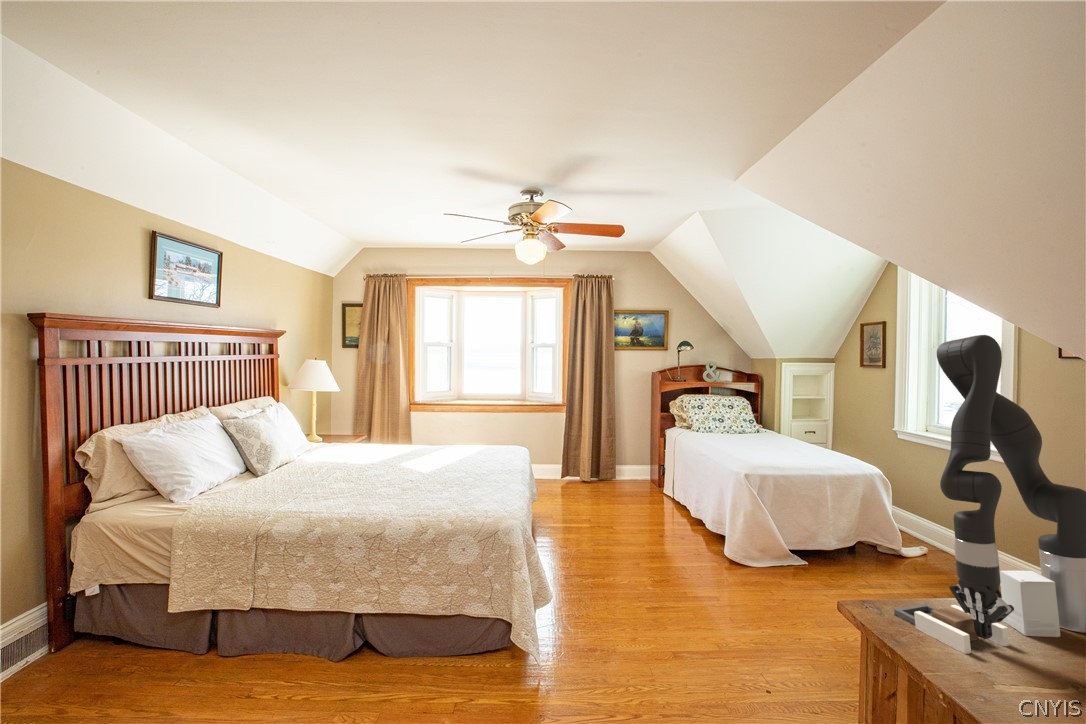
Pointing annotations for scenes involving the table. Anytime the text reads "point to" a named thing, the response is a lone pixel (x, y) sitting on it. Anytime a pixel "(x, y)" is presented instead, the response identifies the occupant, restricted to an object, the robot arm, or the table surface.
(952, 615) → the walnut block
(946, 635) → the white guide rails
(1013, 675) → the table surface
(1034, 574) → the supplement box
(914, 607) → the frame
